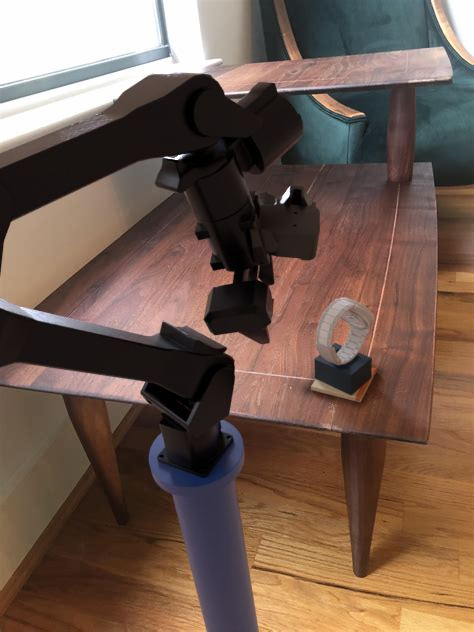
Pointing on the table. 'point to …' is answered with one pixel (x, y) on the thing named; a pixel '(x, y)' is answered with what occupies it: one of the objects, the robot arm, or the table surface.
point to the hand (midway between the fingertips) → (268, 312)
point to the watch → (343, 361)
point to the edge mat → (333, 391)
